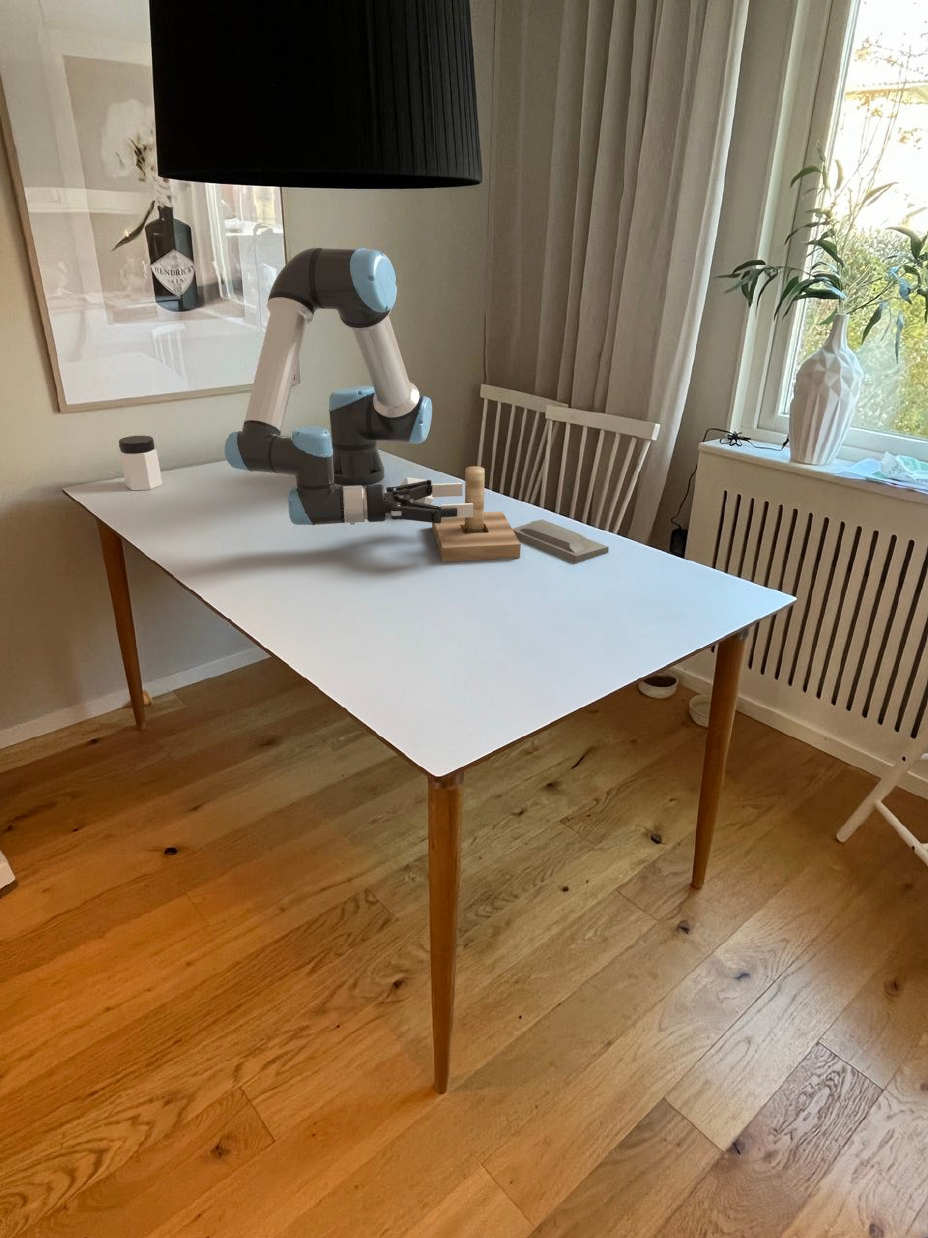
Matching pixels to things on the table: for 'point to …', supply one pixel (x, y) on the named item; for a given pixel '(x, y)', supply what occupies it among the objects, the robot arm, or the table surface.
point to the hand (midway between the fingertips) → (467, 499)
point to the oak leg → (475, 499)
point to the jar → (140, 463)
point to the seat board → (476, 539)
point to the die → (414, 480)
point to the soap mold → (559, 541)
